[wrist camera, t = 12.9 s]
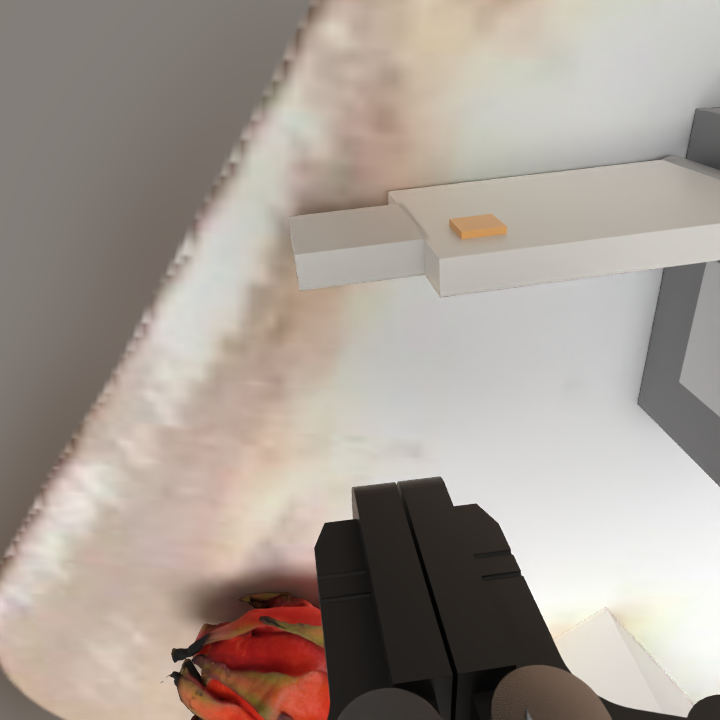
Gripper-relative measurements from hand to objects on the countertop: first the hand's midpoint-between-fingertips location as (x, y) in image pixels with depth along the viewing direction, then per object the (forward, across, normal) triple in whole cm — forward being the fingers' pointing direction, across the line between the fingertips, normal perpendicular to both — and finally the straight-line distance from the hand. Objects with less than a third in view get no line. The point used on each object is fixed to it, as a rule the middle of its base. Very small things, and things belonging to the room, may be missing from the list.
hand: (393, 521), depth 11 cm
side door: (+13, -6, -2) cm, 14 cm away
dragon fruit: (+14, +3, +19) cm, 23 cm away
